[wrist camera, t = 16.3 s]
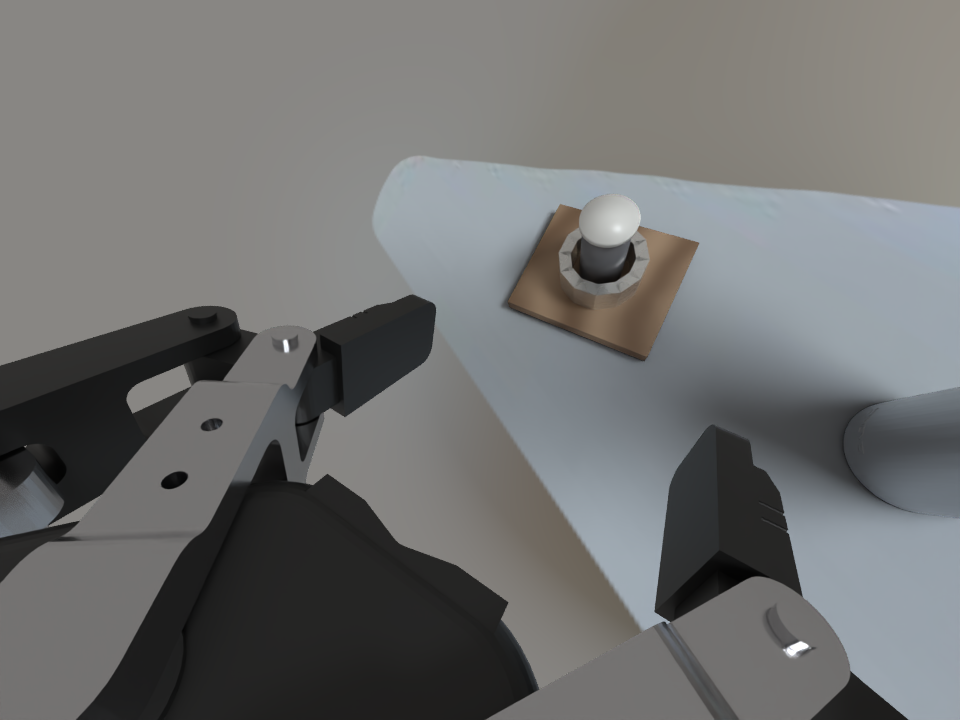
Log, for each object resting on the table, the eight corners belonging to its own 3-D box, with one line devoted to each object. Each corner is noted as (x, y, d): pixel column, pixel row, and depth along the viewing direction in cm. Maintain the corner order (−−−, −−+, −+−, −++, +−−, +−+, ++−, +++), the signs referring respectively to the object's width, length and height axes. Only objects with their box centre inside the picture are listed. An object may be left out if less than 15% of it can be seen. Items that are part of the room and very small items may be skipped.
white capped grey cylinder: (631, 262, 39) (650, 202, 30) (612, 301, 38) (626, 251, 29) (587, 248, 41) (593, 188, 32) (568, 285, 40) (569, 233, 31)
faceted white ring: (654, 253, 39) (662, 233, 35) (622, 320, 37) (627, 306, 34) (579, 230, 42) (580, 210, 38) (547, 292, 40) (545, 277, 37)
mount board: (694, 250, 39) (699, 242, 38) (644, 361, 37) (647, 357, 36) (560, 212, 45) (560, 204, 43) (509, 307, 42) (507, 301, 41)
